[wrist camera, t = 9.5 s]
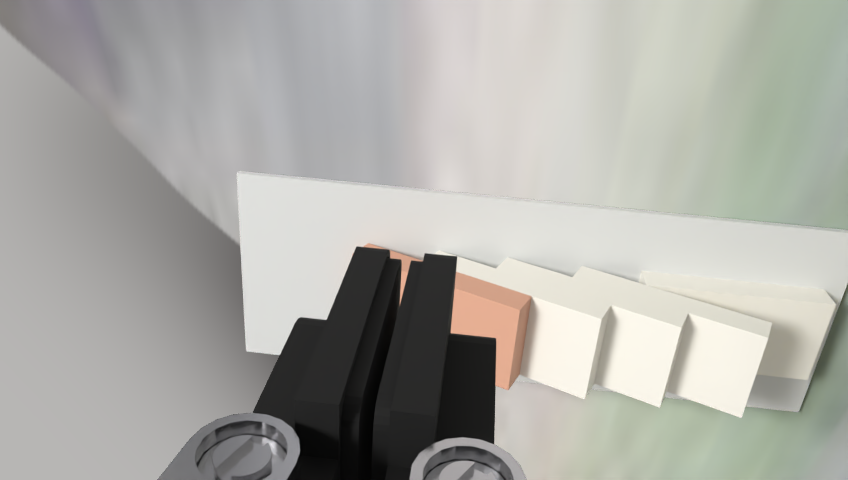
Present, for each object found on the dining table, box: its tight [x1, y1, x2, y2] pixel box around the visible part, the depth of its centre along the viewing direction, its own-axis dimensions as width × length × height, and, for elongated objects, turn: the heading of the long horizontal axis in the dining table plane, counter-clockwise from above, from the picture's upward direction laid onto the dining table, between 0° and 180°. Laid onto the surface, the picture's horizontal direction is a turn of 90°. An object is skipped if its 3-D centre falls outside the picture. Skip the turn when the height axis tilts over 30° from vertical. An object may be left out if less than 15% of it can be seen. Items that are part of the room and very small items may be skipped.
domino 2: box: [435, 250, 611, 399], centre depth 40 cm, size 2×5×10 cm
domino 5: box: [639, 271, 836, 380], centre depth 41 cm, size 2×5×10 cm
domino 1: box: [352, 243, 532, 390], centre depth 40 cm, size 2×5×10 cm
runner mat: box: [237, 171, 848, 412], centre depth 42 cm, size 34×12×1 cm, turn 86°
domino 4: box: [573, 266, 772, 418], centre depth 39 cm, size 2×5×10 cm
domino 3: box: [496, 257, 688, 408], centre depth 40 cm, size 2×5×10 cm
